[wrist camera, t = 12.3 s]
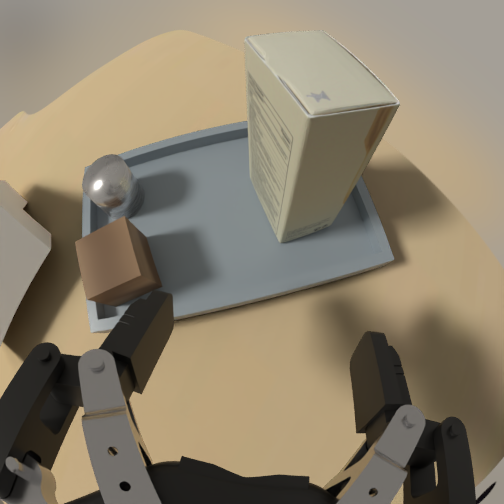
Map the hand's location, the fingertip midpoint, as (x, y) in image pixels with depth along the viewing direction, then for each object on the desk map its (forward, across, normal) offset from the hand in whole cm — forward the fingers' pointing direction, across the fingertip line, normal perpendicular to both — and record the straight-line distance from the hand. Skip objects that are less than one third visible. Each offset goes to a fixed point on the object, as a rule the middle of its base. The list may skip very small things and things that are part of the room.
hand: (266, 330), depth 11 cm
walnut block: (+6, +10, +4) cm, 13 cm away
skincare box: (+12, 0, -2) cm, 12 cm away
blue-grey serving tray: (+12, +4, +1) cm, 13 cm away
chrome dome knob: (+10, +13, 0) cm, 16 cm away
